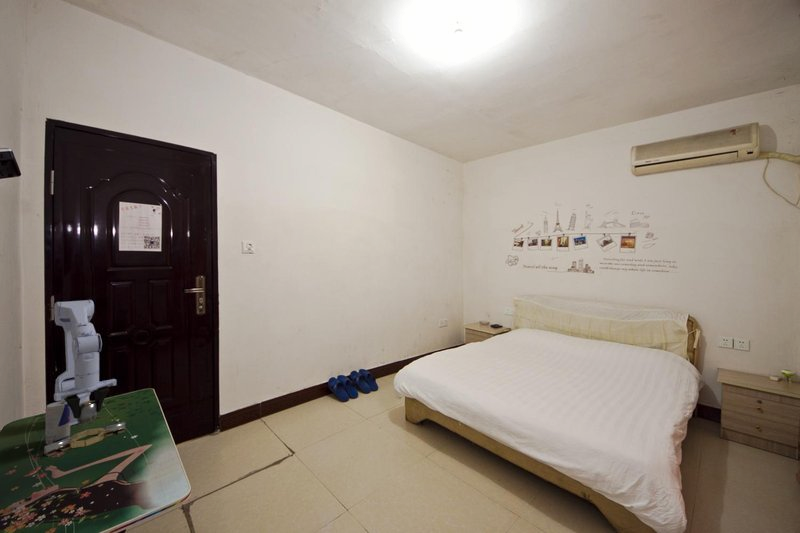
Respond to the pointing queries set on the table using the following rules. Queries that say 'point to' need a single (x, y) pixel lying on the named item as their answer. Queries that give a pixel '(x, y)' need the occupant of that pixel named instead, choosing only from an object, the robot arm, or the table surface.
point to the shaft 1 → (57, 447)
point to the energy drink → (57, 422)
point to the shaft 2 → (115, 428)
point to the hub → (87, 411)
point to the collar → (87, 442)
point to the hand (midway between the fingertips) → (87, 414)
